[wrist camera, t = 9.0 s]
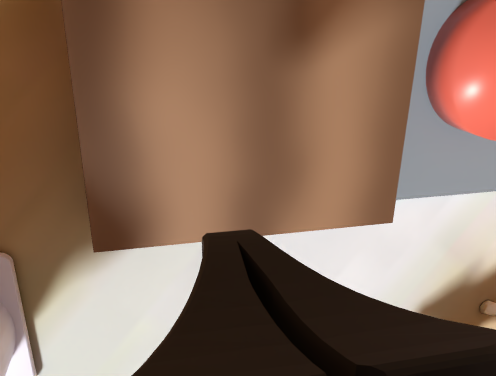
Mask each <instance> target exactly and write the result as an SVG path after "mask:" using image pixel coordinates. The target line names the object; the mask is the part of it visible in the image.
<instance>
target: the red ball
mask: <svg viewBox="0 0 496 376" xmlns="http://www.w3.org/2000/svg"><path fill="white" fill-rule="evenodd" d="M426 88H427V94H428V97H429V100H430V103H431V105H432V107H433V109H434V111H435V112H436V113H437V115H438V116H439V117H440V118H441V119H442V120H443V121H444V122H446V123H447V124H448V125H450V126H452V127H454V128H457V129H460V130H463V131H466V132H468V133H471V134H474V135H477V136H480V137H483V138H486V139H489V140H494V141H496V0H467V1H466V2H464V3H463V4H462V5H460V6H459V7H458V8H457V9H456V10H455V11H454V12H453V13H452V14H451V15H450V16H449V17H448V19H447V20H446V21H445V22H444V24H443V25H442V27H441V28H440V30H439V32H438V34H437V35H436V37H435V39H434V42H433V44H432V47H431V49H430V53H429V56H428V61H427V66H426Z"/></svg>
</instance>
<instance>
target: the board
mask: <svg viewBox="0 0 496 376" xmlns="http://www.w3.org/2000/svg"><path fill="white" fill-rule="evenodd" d="M61 3H62V11H63V18H64V26H65V34H66V42H67V49H68V57H69V65H70V72H71V80H72V88H73V96H74V103H75V111H76V119H77V127H78V134H79V142H80V150H81V157H82V165H83V173H84V181H85V188H86V196H87V204H88V212H89V219H90V227H91V235H92V243H93V250H94V252H104V251H114V250H124V249H134V248H144V247H154V246H164V245H174V244H184V243H194V242H202V237H203V236H204V235H205V234H206V233H214V232H225V231H237V230H248V229H252V230H254V231H255V232H257V233H258V234H260V235H261V236H264V235H274V234H284V233H294V232H304V231H314V230H324V229H334V228H344V227H354V226H364V225H374V224H384V223H393V216H394V209H395V202H396V195H397V188H398V182H399V175H400V168H401V161H402V154H403V147H404V140H405V134H406V127H407V120H408V113H409V106H410V99H411V93H412V86H413V79H414V72H415V65H416V58H417V52H418V45H419V38H420V31H421V24H422V17H423V11H424V4H425V0H61Z"/></svg>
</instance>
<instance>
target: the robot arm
mask: <svg viewBox="0 0 496 376" xmlns="http://www.w3.org/2000/svg"><path fill="white" fill-rule="evenodd" d="M0 376H37V374H36V370H35V365H34V360H33V355H32V350H31V345H30V341H29V336H28V331H27V326H26V321H25V316H24V312H23V307H22V302H21V297H20V292H19V287H18V282H17V278H16V273H15V268H14V263H13V260H12V258H11V257H10V256H9V255H8V254H5V253H0ZM132 376H496V330H494V329H489V328H484V327H479V326H473V325H468V324H463V323H458V322H452V321H447V320H443V319H438V318H435V317H431V316H427V315H423V314H419V313H416V312H412V311H409V310H405V309H402V308H399V307H396V306H393V305H390V304H387V303H384V302H381V301H379V300H376V299H373V298H370V297H368V296H365V295H363V294H360V293H358V292H355V291H353V290H351V289H349V288H347V287H345V286H342V285H340V284H338V283H336V282H334V281H332V280H330V279H328V278H326V277H324V276H322V275H321V274H319V273H317V272H316V271H314V270H312V269H310V268H309V267H307V266H305V265H304V264H302V263H300V262H299V261H297V260H296V259H294V258H293V257H291V256H290V255H288V254H287V253H285V252H284V251H282V250H281V249H279V248H278V247H277V246H275V245H274V244H272V243H271V242H270V241H268V240H267V239H265V238H264V237H263V236H261V235H260V234H258V233H257V232H255V231H254V230H252V229H248V230H237V231H225V232H214V233H206V234H205V235H204V236H203V237H202V262H201V266H200V270H199V273H198V276H197V279H196V282H195V284H194V287H193V290H192V292H191V294H190V297H189V299H188V301H187V303H186V305H185V307H184V309H183V311H182V312H181V314H180V316H179V317H178V319H177V321H176V322H175V324H174V325H173V327H172V329H171V330H170V332H169V333H168V334H167V336H166V337H165V339H164V340H163V341H162V342H161V344H160V345H159V346H158V347H157V349H156V350H155V351H154V352H153V353H152V355H151V356H150V357H149V358H148V359H147V361H146V362H145V363H144V364H143V365H142V366H141V367H140V368H139V369H138V370H137V371H136V372H135V373H134V374H133V375H132Z"/></svg>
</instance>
